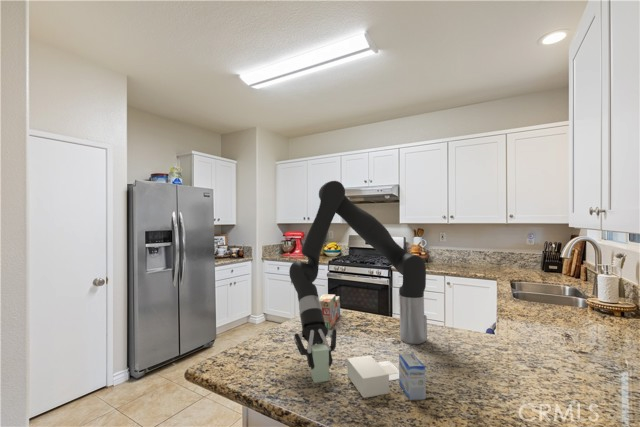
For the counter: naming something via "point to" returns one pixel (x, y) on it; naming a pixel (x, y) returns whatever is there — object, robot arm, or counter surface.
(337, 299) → the printed cardboard box
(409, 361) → the medicine box
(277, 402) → the counter surface
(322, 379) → the sage brick
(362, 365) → the base brick
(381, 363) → the page
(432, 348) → the counter surface
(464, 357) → the counter surface
